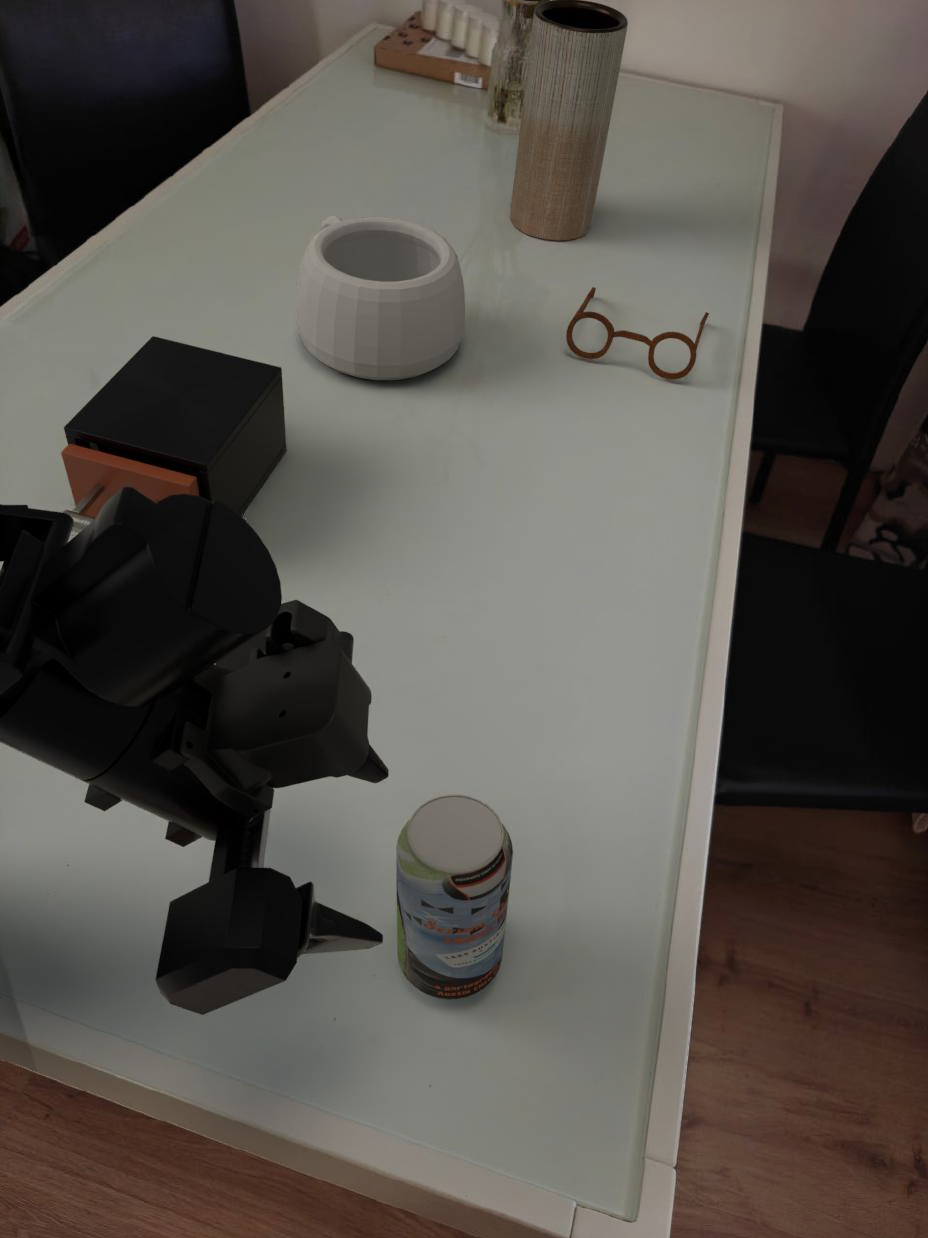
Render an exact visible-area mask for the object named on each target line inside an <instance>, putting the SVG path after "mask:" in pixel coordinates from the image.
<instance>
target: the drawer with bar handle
mask: <svg viewBox="0 0 928 1238" xmlns="http://www.w3.org/2000/svg"><path fill="white" fill-rule="evenodd" d="M89 444H90V448H91V449H89V448H85V447H81V446H77V445H74V444H68V443H67V445H66V446H65V447H64V449H62V450H61V452H60V455H61V457H62V461H63V466H64V469H65V473H66V476H67V481H68V485H69V488H70V491H71V495H72V498H73V501H74V504H75V507H74V508H73V509H72V510H69V509H65V510H64V511H63V512H62V513H66V514H68V515H70V516H71V517H72V518H73V520H74V525H73V528H72V531H71V532H75V533H77V534H78V533H79V532H81V531H82V530H83V529H84V528H85V527H86V526H88V525H89V524H90V523H91V522H92V521H93V520H94V519H95V518H96V517H97V515H98V514H99V512H100V510H101V508H102V507H103V505H104V504H105V503H106V502H107V501H108V500H109V499H110V498H111V497H113V496H114V495H115V494H116V493H117V492H118V491H119V490H121V489H122V488H123V487H133V488H134V489H136V490H137V491H139V492H140V493H142V494H143V495H145V496H146V497H148V498H149V499H151V500H152V501H154V502H155V503H156V504H157V503H158V502H159V501H161V500H162V499H164V498H166V497H168V496H170V495H177V494H189V495H195V496H200V497H202V493H201V486H200V479H199V473H198V470H194V469H191V468H187V467H183V466H179V465H175V464H172V463H168V462H164V461H160V460H156V459H153V458H149V457H145V456H141V455H137V454H134V453H130V452H126V451H122V450H118V449H115V448H111V447H107V446H103V445H99V444H96V443H92V442H89Z"/></svg>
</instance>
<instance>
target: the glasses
mask: <svg viewBox="0 0 928 1238" xmlns="http://www.w3.org/2000/svg"><path fill="white" fill-rule="evenodd" d="M595 294H596V287H595V286H592V287H591V288H590V290H589V292H588V293H587V295H586V297H585V299H584V301H583V302H582V303H581V305H580V307H579V308H578V309H577V311H576V313H574V316H573V317H572V318H571V320H570V322H569V323H568V325H567V329H566V334H565V337H566V339H565V340H566V343H567V346H568V349H569V350H570V351H571V352H572V353H573V354H574V355H576V356H578V357H579V358H581V359H585V360H597V359H600V358H602V357H603V356H605V355H606V354H607V352H608V351H609V350H610V347H611V345H612V344H613V340H614V338H624V339H628V340H631V341H632V340H633V341H636V342H641V343H644V344H645V345H647V346H648V355H647V361H648V366H649V369H650V370H651V372H653V374H655V375H656V376H658V377H660V378H663V379H665V380H680V379H682V378H684V377H686V376H687V375H689V374H690V373H691V371H692V370H693V368H694V366H695V363H696V360H697V350H698V347H699V343H700V340H701V337H702V334H703V330H704V328H705V325H706V322H707V320H708V318H709V315H710V312H707V311H706V312H705V313H704V315H703V317H702V318H701V320H700V322H699V325H700V326H699V329H698V331H697V335H696V338H695V341H693V340H692V338H690V336H688V335H686V334H684V333H681V332H678V331H664V332H662V333H660V334H657V335H656V336H654V337H653V338H652V340H651V339H650V338H649V337H648V336H646V335H644V334H641V333H638V332H632V331H629V330H624V329H623V330H622V329H621V330H617V331H616V330H615V328H614V326H613V323H611V321H610V320H609V319H608V318H607V317H606V316H605V315H603V314H601V313H599V312H596V311H585V310H586V308H587V307H588V304H589V303H590V301H591V299H594V296H595ZM584 319H593V320H596V321H598V322H600V323H601V324H602V325H603V326H604V328H605V329H606V333H607V339H606V342H605V344H604V346H603V347H602V348H601V349H599V350H598V351H595V352H587V351H584V350H582V349H580V348H578V346H577V345H576V344H575V343H574V339H573V332H574V328H575V326H576V324H577V323H578V322H580V321H581V320H584ZM668 339H674V340H675V339H676V340H679V341H681V342H683V343H684V344H685V345H686V346H687V347H688V350H689V353H690V356H689V360H688V364H687V366H685V367H684V368H683V369H682V370H680V371H678V372H668V371H664V370H662V369H661V368H660V367H659V366H658V365H657V364H656V362H655V350H656V347H657V345H658V344H659V343H660V342H662V341H664V340H668Z"/></svg>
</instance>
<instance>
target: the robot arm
mask: <svg viewBox="0 0 928 1238" xmlns="http://www.w3.org/2000/svg"><path fill="white" fill-rule="evenodd" d="M73 525H74V520H73V518H72V517H71V516H70V515H68V514H66V513H63V512H61V511H53V510H47V509H39V508H31V507H29V505H27V504H3V503H2V504H1V503H0V563H2V562H3V563H2V565H1V568H0V743H1V744H3V745H4V746H7V747H8V748H11V749H13V750H15V751H17V752H19V753H22V754H24V755H26V756H28V757H31V758H33V759H35V760H37V761H38V762H41V763H43V764H45V765H47V766H49V767H52V768H54V769H56V770H59V771H61V772H62V773H65V774H67V775H69V776H71V777H73V778H75V779H78V780H80V781H82V782H84V783H85V784H88V785H87V790H86V793H85V797H84V800H83V802H84V803H85V804H87V805H90V806H92V807H94V808H96V809H98V810H100V811H102V812H106V811H108V810H110V809H111V808H113V807H114V806H116V805H117V804H119V803H121V802H122V801H124V802H126V803H129V804H131V805H133V806H135V807H137V808H139V809H141V810H144V811H146V812H148V813H150V814H152V815H154V816H157V817H159V818H161V819H162V820H165V821H167V822H168V823H167V826H166V832H165V837H164V839H165V840H166V841H170V842H171V843H173V844H175V845H177V846H180V847H182V848H185V847H186V846H189V845H191V844H192V843H194V842H196V841H198V840H199V839H201V838H204V839H206V840H208V841H212V842H214V846H213V847H214V848H213V852H212V857H211V865H210V871H209V877H208V882H205V883H204V884H202V885H200V886H198V887H196V888H194V889H192V890H191V891H188V892H186V893H185V894H182V895H180V896H179V897H176V898H173V900H171V901H169V906H168V910H167V915H166V916H167V917H166V921H165V927H164V931H163V937H162V943H161V948H160V953H159V957H158V958H159V959H158V963H157V969H156V975H155V979H154V980H155V983H156V985H157V988H158V991H159V993H160V994H161V996H163V998H164V999H165V1000H166V1001H167V1002H168V1003H169V1004H170V1005H172V1006H175V1007H178V1008H181V1009H184V1010H187V1011H189V1012H193V1013H195V1014H198V1015H201V1016H205V1015H206V1014H209V1013H211V1012H214V1011H216V1010H219V1009H221V1008H223V1007H226V1006H228V1005H230V1004H233V1003H235V1002H238V1001H240V1000H243V999H245V998H247V997H250V996H253V995H255V994H257V993H260V992H262V991H265V990H267V989H269V988H272V987H275V986H277V985H279V984H282V983H284V982H285V981H287V979H288V978H289V977H290V975H291V973H292V971H293V970H294V968H295V967H296V965H297V963H298V958H299V957H301V956H302V955H314V954H315V955H316V954H325V953H338V952H349V951H362V950H369V949H372V948H375V947H377V946H379V945H380V946H381V945H382V944H383V942H384V935H383V933H381V932H380V931H379V930H377V929H376V928H374V927H372V926H370V925H369V924H367V923H366V922H364V921H362V920H359V919H357V918H354V917H353V916H350V915H348V914H345V913H344V912H341V911H339V910H336V909H334V908H332V907H330V906H327V905H325V904H322V903H320V902H318V901H317V900H316V897H315V887H314V883H313V882H312V881H308V882H306V883H304V884H302V885H299V886H297V887H296V886H295V884H294V882H293V880H292V878H291V876H289V875H287V874H285V873H282V872H281V871H278V870H276V869H275V868H272V867H264V864H265V857H266V849H267V841H268V835H269V834H268V833H269V825H270V818H271V809H272V808H273V805H274V804H273V803H274V797H275V796H274V795H275V789H282V788H287V787H291V786H295V785H300V784H303V783H307V782H308V783H309V782H312V781H317V780H321V779H325V778H330V777H331V778H336V779H337V778H343V777H346V776H348V777H351V778H354V779H357V780H358V779H359V780H362V781H365V782H367V783H368V782H369V783H373V784H378V783H380V782H382V781H384V780H386V779H387V778H388V777H389V775H390V770H389V768H388V767H387V766H386V764H385V762H384V761H383V760H382V758H381V757H380V755H379V754H378V753H377V752H376V751H375V749H374V748H373V746H372V745H371V744H370V740H369V735H368V732H369V713H370V712H369V711H370V705H371V704H372V698H373V697H372V691H371V688H370V687H369V686H368V684H367V682H366V681H365V679H364V678H363V677H362V676H361V674H360V673H359V672H358V670H357V669H356V667H355V665H354V664H353V657H354V655H353V654H354V643H355V640H354V639H355V637H354V635H353V634H352V633H350V632H348V631H344V630H339V628H338V627H337V625H336V624H335V622H334V621H333V620H332V619H331V617H329V616H327V615H326V614H324V613H322V612H320V611H318V610H317V609H314V607H311V606H309V605H308V604H306V603H304V602H302V601H300V600H298V599H293V600H290V601H286V602H283V603H282V598H283V594H282V585H281V579H280V576H279V572H278V569H277V565H276V563H275V562H274V559H273V556H272V554H271V553H270V551H269V548H268V547H267V546H266V544H265V543H264V541H263V540H262V539H261V537H260V535H259V534H258V533H257V532H256V530H254V528H253V527H252V526H251V525H250V524H249V522H247V520H246V519H245V518H243V516H240V515H239V514H238V513H236V512H235V511H234V510H233V509H232V508H230V507H229V506H227V505H226V504H224V503H223V502H221V501H219V500H215V501H213V502H212V501H210V500H207V499H205V498H202V497H200V496H195V495H189V494H177V495H170V496H168V497H166V498H164V499H162V500H161V501H159V502H158V503H157V504H156V503H155V502H154V501H152V500H151V499H149V498H148V497H146V496H145V495H143V494H142V493H140V492H139V491H137V490H136V489H134V488H133V487H123V488H122V489H121V490H119V491H118V492H117V493H116V494H115V495H114V496H113V497H111V498H110V499H109V500H108V501H107V502H106V503H105V504H104V505H103V507H102V508H101V510H100V512H99V514H98V515H97V517H96V518H95V519H94V520H93V521H92V522H91V523H90V524H89V525H88V526H86V527H85V528H84V529H83V530H82V531H81V532H79V533H77V534H75V536H74V537H72V538H71V539H70V536H71V534H72V532H73V531H72V528H73Z"/></svg>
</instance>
